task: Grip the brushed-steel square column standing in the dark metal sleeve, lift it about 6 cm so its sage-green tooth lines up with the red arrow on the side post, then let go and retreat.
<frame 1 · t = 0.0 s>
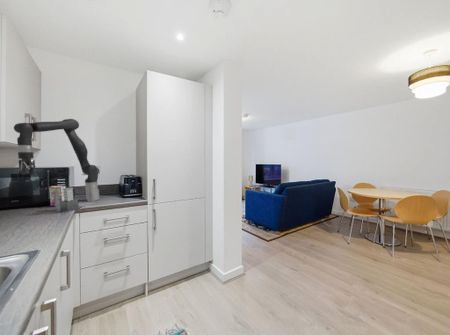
hand: (27, 174, 138), 29 cm above the countertop, fingers open, 8 cm apart
arrow post: (58, 212, 145), on the countertop
candy bar box: (58, 205, 165), on the countertop
stand base: (69, 209, 153), on the countertop
column: (68, 198, 152), point 9 cm above the countertop, slide at 0.0 cm
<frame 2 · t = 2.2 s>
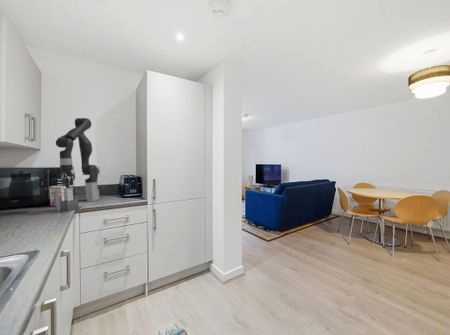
hand: (67, 185, 151), 19 cm above the countertop, fingers open, 8 cm apart
nothing on the countertop moved.
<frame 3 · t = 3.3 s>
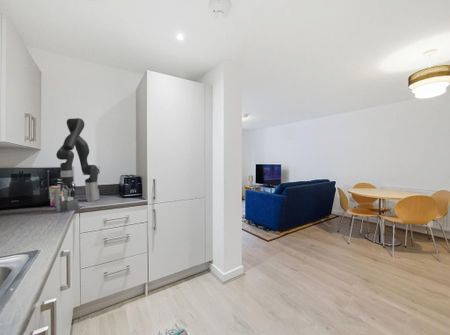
hand: (68, 196, 152), 10 cm above the countertop, fingers open, 8 cm apart
nothing on the countertop moved.
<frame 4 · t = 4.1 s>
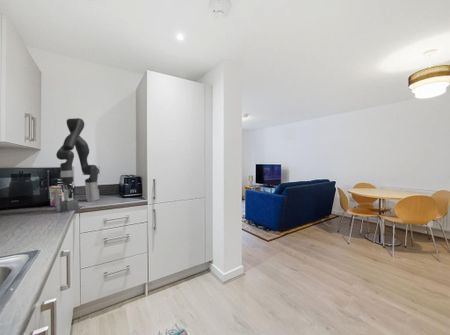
hand: (68, 197, 152), 9 cm above the countertop, fingers closed on column, 4 cm apart
column: (68, 198, 152), point 9 cm above the countertop, slide at 0.0 cm, touching gripper
everything else where it was.
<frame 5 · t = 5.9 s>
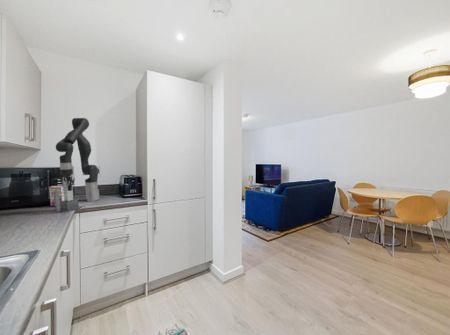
hand: (68, 190, 152), 15 cm above the countertop, fingers closed on column, 4 cm apart
column: (68, 190, 152), point 15 cm above the countertop, slide at 5.9 cm, touching gripper
everything else where it was.
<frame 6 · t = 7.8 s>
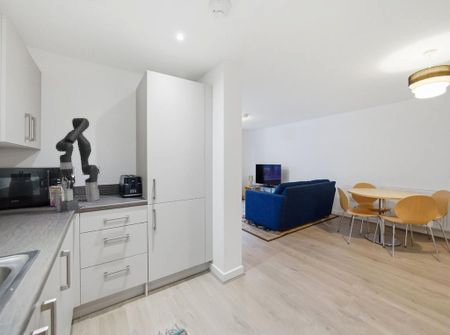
hand: (68, 188, 152), 16 cm above the countertop, fingers open, 8 cm apart
column: (68, 190, 152), point 15 cm above the countertop, slide at 6.0 cm
everything else where it was.
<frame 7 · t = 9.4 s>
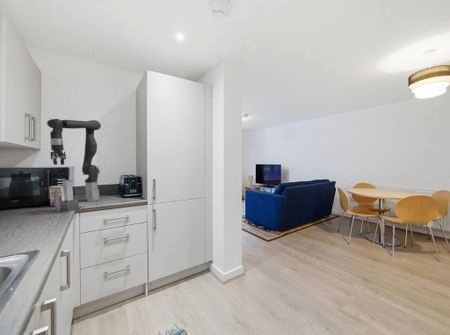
hand: (58, 164, 157), 35 cm above the countertop, fingers open, 8 cm apart
nothing on the countertop moved.
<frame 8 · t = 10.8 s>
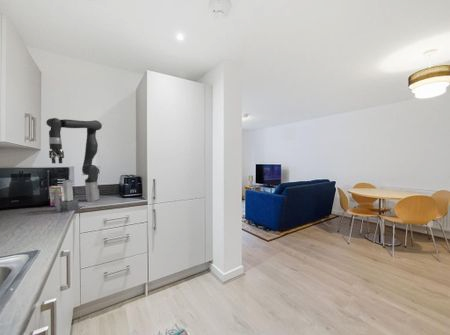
hand: (57, 163, 158), 36 cm above the countertop, fingers open, 8 cm apart
nothing on the countertop moved.
at the end: column slide at 6.0 cm; the gripper is holding nothing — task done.
